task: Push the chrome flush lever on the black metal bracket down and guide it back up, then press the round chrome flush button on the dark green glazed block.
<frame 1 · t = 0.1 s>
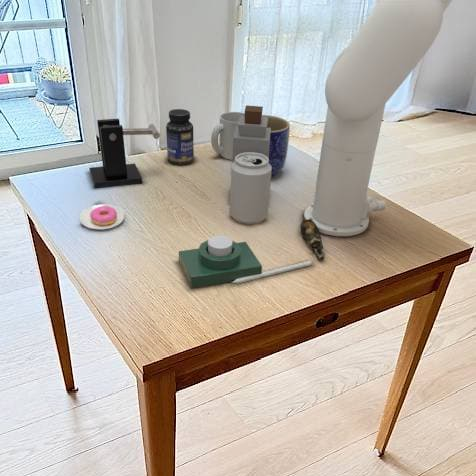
planter: (261, 173, 120), on the table
button block: (219, 269, 89), on the table
flush button: (220, 246, 86), point 4 cm above the table, slide at 0.1 cm
donut: (100, 218, 101), on the table
lever bracket: (115, 177, 115), on the table
can: (248, 217, 103), on the table
pencil: (272, 275, 88), on the table
bird model: (311, 243, 97), on the table
flush lever: (130, 131, 110), point 10 cm above the table, hinge at -3.5°
pill bottle: (180, 161, 123), on the table
perfume bottle: (248, 198, 110), on the table
cup: (229, 156, 127), on the table
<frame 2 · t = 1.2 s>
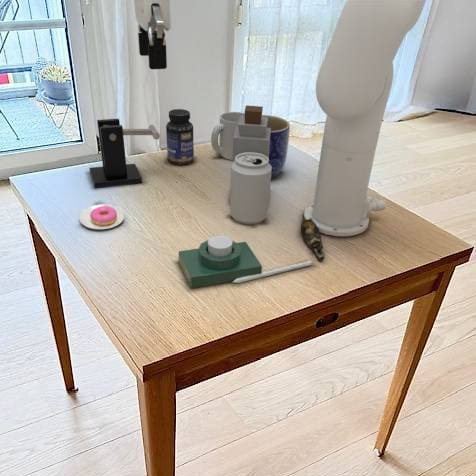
hand: (152, 61, 101), 23 cm above the table, tool pointing down, fingers open, 9 cm apart
pencil: (272, 275, 88), on the table, touching button block
flush lever: (130, 132, 110), point 10 cm above the table, hinge at -4.5°
everything else where it was.
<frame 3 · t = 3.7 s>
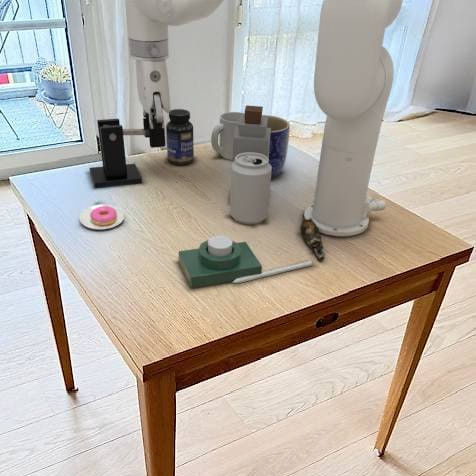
hand: (154, 140, 112), 7 cm above the table, tool pointing down, fingers closed on flush lever, 5 cm apart
pencil: (272, 275, 88), on the table
flush lever: (130, 132, 110), point 10 cm above the table, hinge at -4.5°, touching gripper
everything else where it was.
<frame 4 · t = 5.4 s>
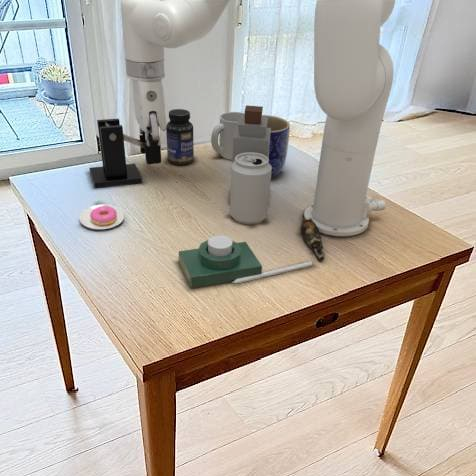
hand: (150, 157, 114), 4 cm above the table, tool pointing down, fingers closed on flush lever, 5 cm apart
flush lever: (129, 139, 110), point 8 cm above the table, hinge at -26.1°, touching gripper
everything else where it was.
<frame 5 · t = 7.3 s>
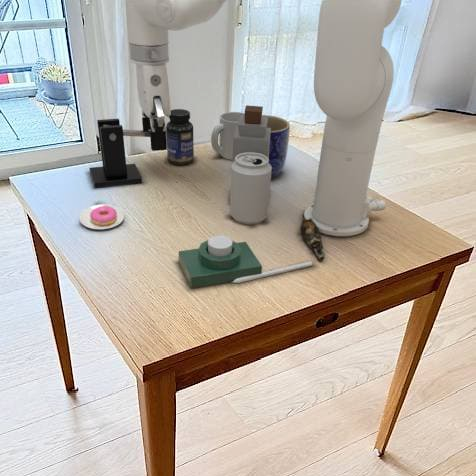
hand: (154, 142, 113), 7 cm above the table, tool pointing down, fingers open, 7 cm apart
pencil: (272, 275, 88), on the table, touching button block
flush lever: (130, 133, 110), point 9 cm above the table, hinge at -7.3°
everything else where it was.
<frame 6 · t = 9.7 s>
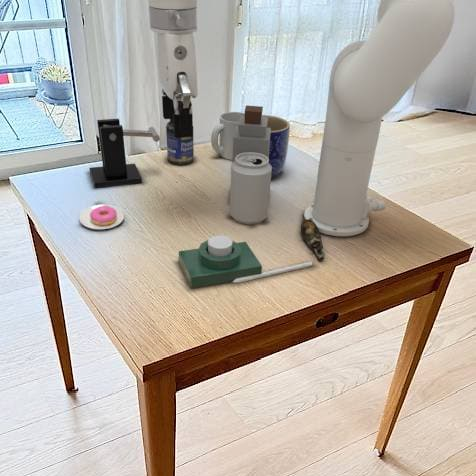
hand: (177, 127, 95), 16 cm above the table, tool pointing down, fingers open, 9 cm apart
pencil: (272, 276, 88), on the table
everything else where it was.
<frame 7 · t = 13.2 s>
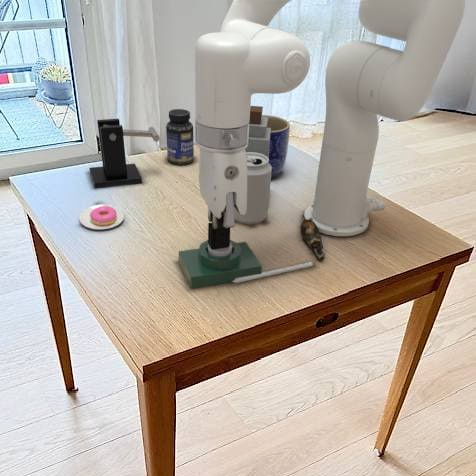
hand: (218, 245, 85), 5 cm above the table, tool pointing down, fingers closed
flush button: (220, 250, 86), point 4 cm above the table, slide at -0.6 cm, touching gripper
everything else where it was.
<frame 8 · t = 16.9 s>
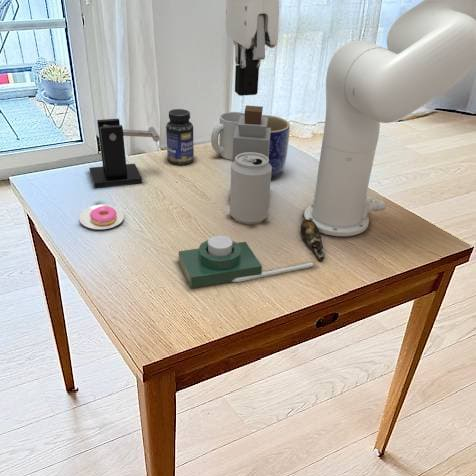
hand: (246, 93, 82), 25 cm above the table, tool pointing down, fingers closed
flush button: (220, 246, 86), point 4 cm above the table, slide at 0.1 cm
everything else where it was.
at the end: flush lever reached -26° during the clip, -7° at the end; flush button pushed in 1.1 cm at the most during the clip, back to where it started at the end; flush button slide at 0.1 cm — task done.
